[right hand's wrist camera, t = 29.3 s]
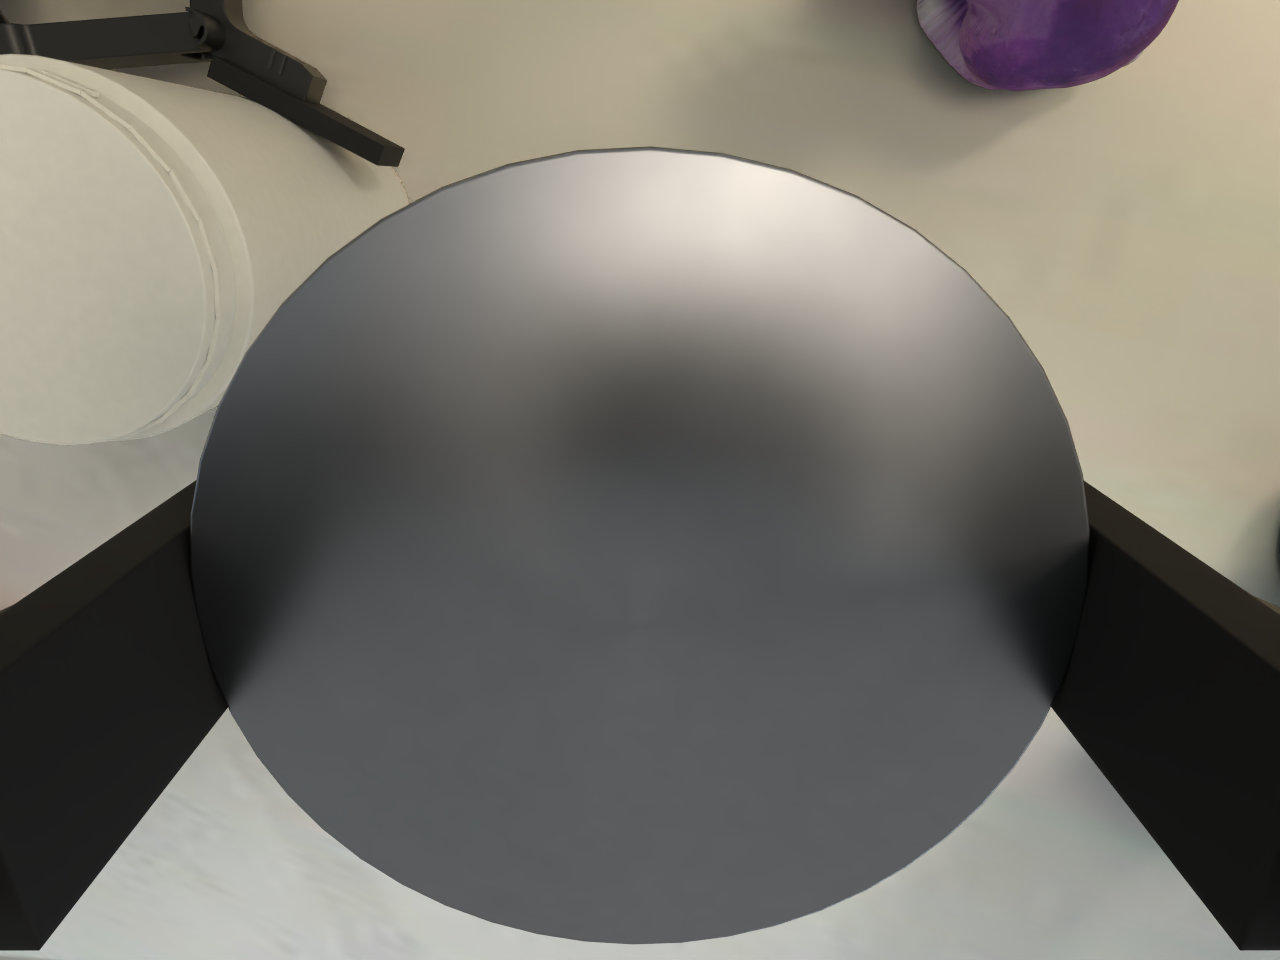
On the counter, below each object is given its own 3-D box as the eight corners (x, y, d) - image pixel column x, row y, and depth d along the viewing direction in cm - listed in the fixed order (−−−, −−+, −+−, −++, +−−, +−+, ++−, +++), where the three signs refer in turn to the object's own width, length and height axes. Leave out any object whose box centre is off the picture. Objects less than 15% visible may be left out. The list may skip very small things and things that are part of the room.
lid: (106, 549, 12) (10, 616, 10) (653, -70, 9) (657, -133, 7) (631, 941, 15) (630, 1047, 13) (1168, 567, 12) (1261, 636, 10)
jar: (345, 69, 35) (55, -38, 18) (453, 287, 38) (299, 377, 21) (152, 165, 36) (-292, 154, 19) (272, 368, 40) (-12, 514, 23)
